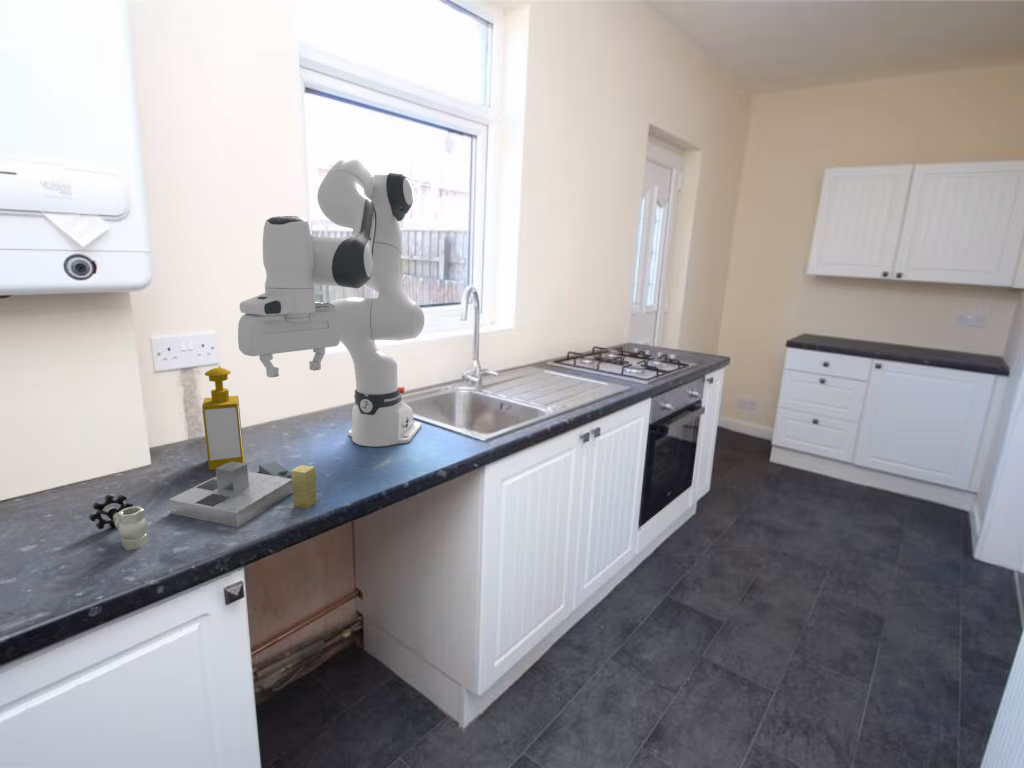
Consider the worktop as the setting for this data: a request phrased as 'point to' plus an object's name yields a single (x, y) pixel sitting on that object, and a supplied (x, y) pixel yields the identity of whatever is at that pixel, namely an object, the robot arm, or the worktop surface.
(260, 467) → the bracket
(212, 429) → the soap bottle
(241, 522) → the square plinth with cube
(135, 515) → the valve
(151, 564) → the worktop surface
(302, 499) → the yellow rectangular block
